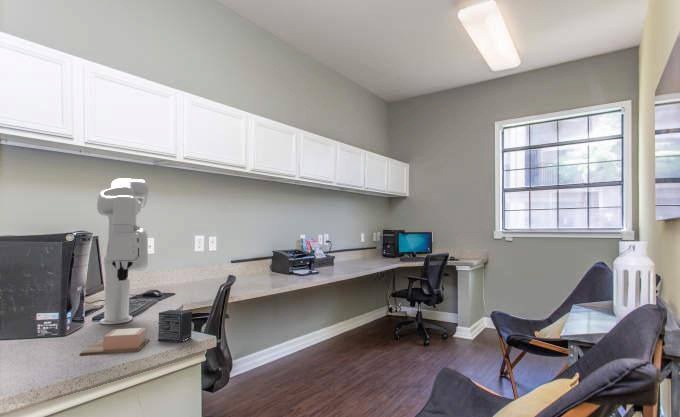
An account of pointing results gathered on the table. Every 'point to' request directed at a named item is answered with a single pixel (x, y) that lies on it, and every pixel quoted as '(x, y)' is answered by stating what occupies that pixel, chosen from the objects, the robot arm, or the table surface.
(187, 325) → the small box
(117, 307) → the robot arm
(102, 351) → the walnut board
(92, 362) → the table surface
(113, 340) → the tan wooden block
